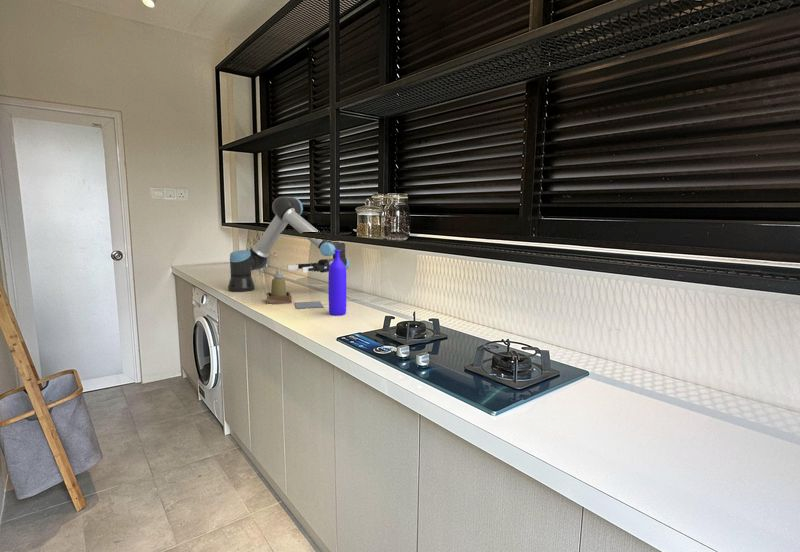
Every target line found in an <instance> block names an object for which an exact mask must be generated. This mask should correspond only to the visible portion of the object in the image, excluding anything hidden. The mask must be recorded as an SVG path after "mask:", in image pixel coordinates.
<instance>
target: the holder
mask: <svg viewBox="0 0 800 552" xmlns="http://www.w3.org/2000/svg"><path fill="white" fill-rule="evenodd" d="M286 293H287V295H286V296H271V292H266V305H267V304H272V305H286V304H287V305H288V304H290V303H293V302H292V294H291V292H290V291H286Z"/></svg>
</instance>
